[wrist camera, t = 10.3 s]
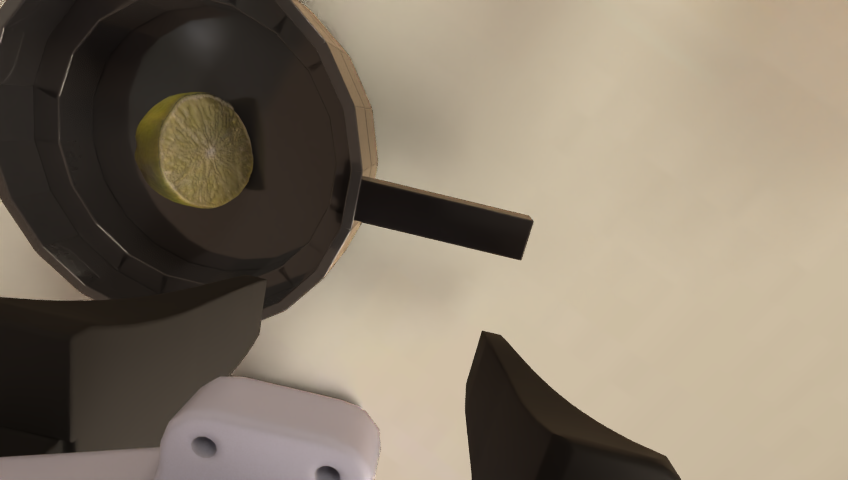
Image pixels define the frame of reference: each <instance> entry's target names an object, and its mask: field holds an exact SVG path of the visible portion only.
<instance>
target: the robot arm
mask: <svg viewBox="0 0 848 480" xmlns="http://www.w3.org/2000/svg"><path fill="white" fill-rule="evenodd" d="M266 282H267V279H263V278H259V277H255V276H251V275H244V276H238V277H233V278H229V279H225V280H221V281H217V282H213V283H209V284H205V285H201V286H197V287H192V288H188V289H183V290H178V291H174V292H169V293H164V294H158V295H151V296H143V297H135V298H125V299H109V300H93V301H53V300H32V299H18V298H4V297H0V480H375V474H376V469H377V465H378V460H379V455H380V450H381V446H380V432H379V428H378V427H377V425H376V424H375V423H374V421H373V420H372V419H371V417H370V416H369V415H368V413H367V412H366V411H365V410H363V409H362V408H361V407H360V406H358V405H355V404H351V403H348V402H346V401H344V400H340V399H336V398H332V397H328V396H323V395H319V394H315V393H311V392H306V391H302V390H298V389H294V388H290V387H285V386H281V385H277V384H273V383H269V382H264V381H260V380H256V379H252V378H247V377H238V376H229V375H230V374H231V373H232V372H233V371H234V370H235V368H236V367H237V366H238V365H239V364H240V363H241V361H242V360H243V359H244V358H245V356H246V355H247V353H248V352H249V350H250V349H251V347H252V346H253V344H254V342H255V341H256V339H257V337H258V336H259V333H260V325H261V318H262V311H263V304H264V297H265V289H266ZM465 415H466V425H467V435H468V444H469V454H470V463H471V473H472V480H681V478H680V477H679V475H678V474H677V472H676V471H675V469H674V468H673V466H672V464H671V463H670V461H669V460H668V458H667V457H666V456H664V455H662V454H660V453H658V452H655V451H653V450H651V449H649V448H647V447H644V446H642V445H640V444H638V443H636V442H633V441H631V440H629V439H627V438H625V437H624V436H622V435H620V434H618V433H616V432H614V431H613V430H611V429H609V428H607V427H606V426H604V425H602V424H600V423H599V422H597V421H596V420H594V419H592V418H591V417H589V416H588V415H586V414H585V413H583V412H582V411H580V410H579V409H578V408H576V407H575V406H573V405H572V404H571V403H569V402H568V401H567V400H566V399H564V398H563V397H562V396H561V395H559V394H558V393H557V392H556V391H554V390H553V389H552V388H551V387H550V386H549V385H548V384H547V383H546V382H545V381H543V380H542V379H541V378H540V377H539V376H538V375H537V374H536V373H535V372H534V371H533V370H532V369H531V368H530V367H529V365H528V364H527V363H526V362H525V361H524V360H523V359H522V358H521V357H520V356H519V355H518V353H517V352H516V351H515V350H514V349H513V348H512V347H511V345H510V344H509V343H508V342H507V341H506V340H505V339H504V338H503V337H502V336H501V335H498V334H494V333H490V332H485V331H482V333H481V336H480V340H479V343H478V346H477V350H476V353H475V356H474V360H473V363H472V366H471V369H470V373H469V376H468V379H467V383H466V398H465Z"/></svg>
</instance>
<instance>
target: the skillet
mask: <svg viewBox="0 0 848 480" xmlns="http://www.w3.org/2000/svg"><path fill="white" fill-rule="evenodd" d="M190 92H203V93H210V94H212V95H215V96H218V97H220V98H221V99H222V100H225V101H226V102H228V103H230V104H231V105H232V106H233V108H234V111H235V113H237V114H238V115H239V118H240V119H241V121H242V122H243V124H244V126H245V128H246V130H247V133H248V135H249V138H250V141H251V148H252V155H253V170H252V173H251V174H250V178H249V181H248V183H247V185H246V186H245V187H244V189H243V190H242V192H241V193H240V194H239V195H238V196H237V197H235V198H234V199H232V200H231V201H229V202H228V203H226V204H224V205H222V206H219V207H216V208H196V207H192V206H187V205H183V204H179V203H176V202H173V201H171V200H169V199H167V198H165V197H163V196H162V195H160V194H158V193H157V192H156V191H155V190H154V189H152V188H151V187H150V186H149V185H148V183H147V182H146V181H145V179H144V177H143V175H142V172H141V170H140V169H139V167H138V165H137V163H136V161H135V150H136V146H137V145H136V137H135V135H136V130H137V127H138V125H139V123H140V121H141V120H142V119H143V118H144V116H145V115H146V114H147V112H148V111H149V110H150V109H151V108H152V107H153V106H155V105H156V104H157V103H159V102H161V101H162V100H164V99H165V98H167V97H169V96H173V95H176V94H182V93H190ZM377 166H378V155H377V146H376V137H375V128H374V119H373V110H372V107H371V104H370V102H369V100H368V97H367V95H366V93H365V90H364V88H363V86H362V83H361V81H360V79H359V76H358V74H357V72H356V69H355V67H354V65H353V63H352V60H351V58H350V57H349V55H348V53H347V52H346V51H345V50H344V49H343V48H342V46H341V45H340V44H339V43H338V42H337V40H336V39H335V38H334V37H333V36H332V34H331V33H330V32H329V31H328V30H327V29H326V27H325V26H324V25H323V24H322V23H321V21H320V20H319V19H318V18H317V17H316V16H315V14H314V13H313V12H312V11H311V10H310V9H308V8H307V7H306V6H305V5H303V4H302V3H301V2H300V1H298V0H6V2H5V3H4V4H3V6H2V7H1V8H0V198H1V200H2V202H3V204H4V205H5V207H6V208H7V210H8V211H9V213H10V214H11V216H12V217H13V219H14V220H15V222H16V223H17V225H18V226H19V228H20V229H21V231H22V232H23V234H24V235H25V237H26V238H27V240H28V241H29V243H30V244H31V246H32V247H33V249H34V250H35V251H37V254H39V255H40V256H41V257H42V258H43V259H44V260H45V261H46V262H47V263H48V264H50V265H51V266H52V267H53V268H54V269H55V270H56V271H57V272H58V273H59V274H61V275H62V276H63V277H64V278H65V279H66V280H67V281H68V282H69V283H70V284H72V285H73V286H74V287H75V288H76V289H77V290H78V291H79V292H81V293H82V294H84V295H86V296H88V297H90V298H91V299H93V300H109V299H125V298H135V297H143V296H151V295H158V294H164V293H169V292H174V291H178V290H183V289H188V288H192V287H197V286H201V285H205V284H209V283H213V282H217V281H221V280H225V279H229V278H233V277H238V276H244V275H251V276H255V277H259V278H263V279H267V282H266V289H265V297H264V304H263V311H262V318H261V320H263V319H266V318H269V317H271V316H274V315H276V314H279V313H282V312H284V311H285V310H287V309H288V308H289V307H291V306H292V305H293V304H294V303H295V302H296V301H298V300H299V299H300V298H301V297H302V296H303V295H305V294H306V293H307V292H308V291H309V290H310V289H312V288H313V287H314V286H315V285H316V284H318V283H319V282H320V281H321V280H322V279H323V278H324V277H325V276H326V275H327V274H328V272H329V271H330V270H331V269H332V267H333V266H334V265H335V263H336V262H337V261H338V260H339V258H340V257H341V256H342V255H343V253H344V252H345V251H346V249H347V248H348V246H349V244H350V242H351V241H352V239H353V237H354V235H355V234H356V232H357V230H358V229H359V227H360V225H361V223H362V222H359V221H355V214H356V209H357V204H358V199H359V194H360V188H361V183H362V179H364V178H365V177H370V178H374V179H375V176H376V171H377Z"/></svg>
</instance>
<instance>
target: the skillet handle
mask: <svg viewBox="0 0 848 480" xmlns="http://www.w3.org/2000/svg"><path fill="white" fill-rule="evenodd" d="M355 221H359V222H363V223H367V224H371V225H375V226H379V227H384V228H388V229H392V230H396V231H400V232H404V233H409V234H413V235H417V236H421V237H425V238H429V239H434V240H438V241H442V242H446V243H450V244H454V245H459V246H463V247H467V248H471V249H475V250H479V251H484V252H488V253H492V254H496V255H500V256H504V257H509V258H513V259H517V260H522V257H523V254H524V251H525V247H526V244H527V241H528V238H529V235H530V232H531V228H532V225H533V220H532V219H531V217H530V216H528V215H524V214H520V213H516V212H511V211H507V210H503V209H499V208H495V207H491V206H486V205H482V204H478V203H474V202H470V201H466V200H462V199H457V198H453V197H449V196H445V195H441V194H437V193H432V192H428V191H424V190H420V189H416V188H412V187H408V186H403V185H399V184H395V183H391V182H387V181H383V180H379V179H374V178H370V177H365V178H364V179H362V183H361V188H360V194H359V199H358V204H357V209H356V214H355Z"/></svg>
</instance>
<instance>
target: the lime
mask: <svg viewBox="0 0 848 480" xmlns="http://www.w3.org/2000/svg"><path fill="white" fill-rule="evenodd" d="M135 137H136V145H137V146H136V150H135V161H136V163H137V165H138V167H139V169H140V170H141V172H142V175H143V177H144V179H145V181H146V182H147V183H148V185H149V186H150V187H151V188H152V189H154V190H155V191H156V192H157V193H158V194H160V195H162V196H163V197H165V198H167V199H169V200H171V201H173V202H176V203H179V204H183V205H187V206H192V207H196V208H216V207H219V206H222V205H224V204H226V203H228V202H229V201H231V200H232V199H234V198H235V197H237V196H238V195H239V194H240V193H241V192H242V190H243V189H244V187H245V186H246V185H247V183H248V181H249V178H250V174H251V173H252V170H253V155H252V148H251V141H250V138H249V135H248V133H247V130H246V128H245V126H244V124H243V122H242V121H241V119H240V118H239V115H238V114H237V113H235V111H234V108H233V106H232V105H231V104H230V103H228V102H226V101H225V100H222V99H221V98H220V97H218V96H215V95H212V94H210V93H203V92H190V93H182V94H176V95H173V96H169V97H167V98H165V99H164V100H162V101H161V102H159V103H157V104H156V105H155V106H153V107H152V108H151V109H150V110H149V111H148V112H147V114H146V115H145V116H144V118H143V119H142V120H141V121H140V123H139V125H138V127H137V130H136V135H135Z"/></svg>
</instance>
